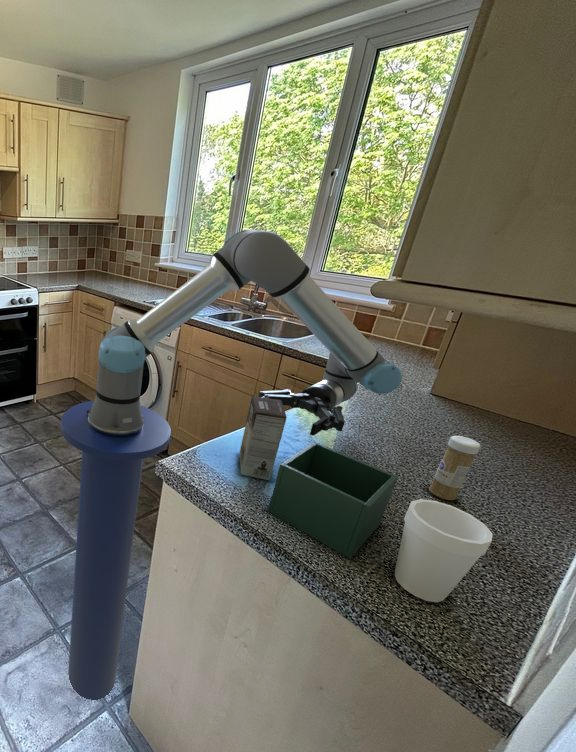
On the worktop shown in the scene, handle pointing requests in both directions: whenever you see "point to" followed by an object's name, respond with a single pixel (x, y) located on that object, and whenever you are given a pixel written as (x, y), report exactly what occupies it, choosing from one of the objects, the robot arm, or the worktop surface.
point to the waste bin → (331, 497)
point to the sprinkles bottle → (454, 467)
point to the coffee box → (262, 437)
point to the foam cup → (438, 548)
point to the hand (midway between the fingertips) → (282, 418)
